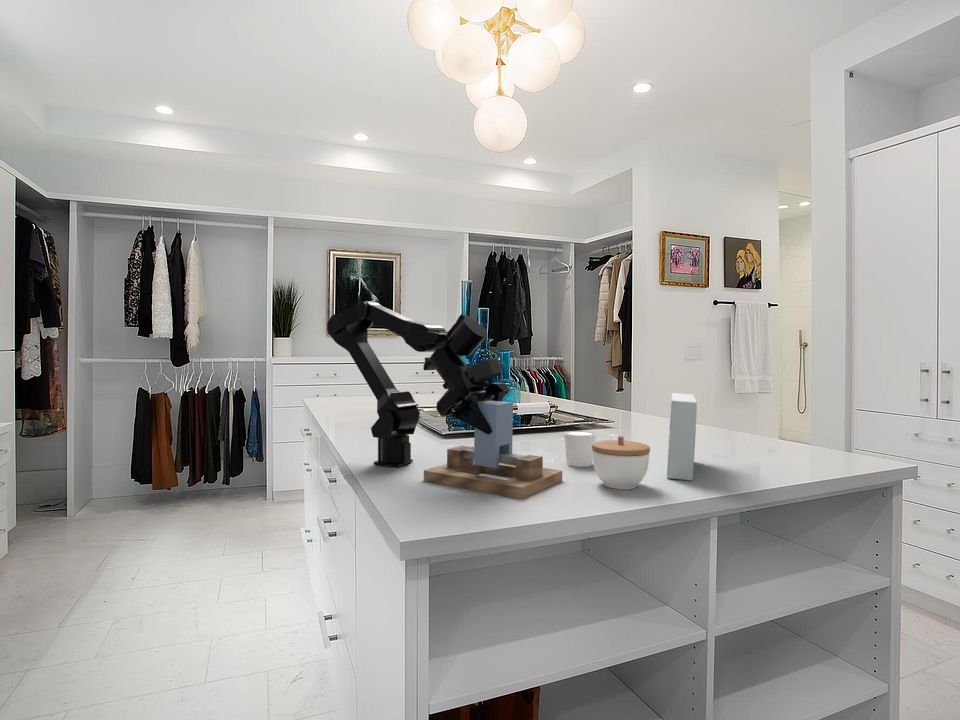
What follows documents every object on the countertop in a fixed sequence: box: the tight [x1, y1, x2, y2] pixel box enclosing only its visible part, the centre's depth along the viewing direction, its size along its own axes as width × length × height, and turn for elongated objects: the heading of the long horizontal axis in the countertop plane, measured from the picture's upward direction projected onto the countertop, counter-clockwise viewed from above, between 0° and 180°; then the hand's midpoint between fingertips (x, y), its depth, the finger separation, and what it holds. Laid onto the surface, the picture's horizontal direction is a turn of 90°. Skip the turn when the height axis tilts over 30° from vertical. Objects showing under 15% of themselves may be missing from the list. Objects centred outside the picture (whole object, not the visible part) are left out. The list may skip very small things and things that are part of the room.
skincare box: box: [666, 392, 698, 481], centre depth 122 cm, size 21×6×16 cm, turn 161°
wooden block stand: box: [423, 445, 563, 500], centre depth 110 cm, size 22×16×6 cm
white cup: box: [564, 430, 596, 468], centre depth 126 cm, size 7×7×7 cm
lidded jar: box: [592, 435, 651, 490], centre depth 108 cm, size 11×11×9 cm
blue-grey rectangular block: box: [473, 400, 514, 468], centre depth 110 cm, size 6×5×12 cm
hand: (499, 431), depth 109 cm, fingers closed on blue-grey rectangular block, 6 cm apart
